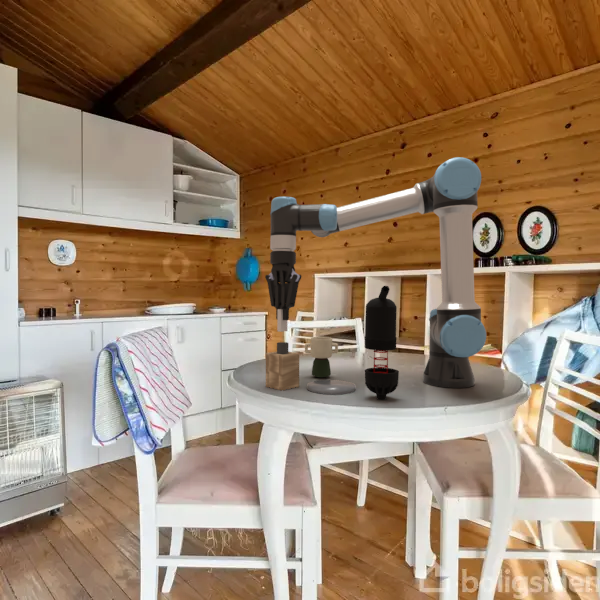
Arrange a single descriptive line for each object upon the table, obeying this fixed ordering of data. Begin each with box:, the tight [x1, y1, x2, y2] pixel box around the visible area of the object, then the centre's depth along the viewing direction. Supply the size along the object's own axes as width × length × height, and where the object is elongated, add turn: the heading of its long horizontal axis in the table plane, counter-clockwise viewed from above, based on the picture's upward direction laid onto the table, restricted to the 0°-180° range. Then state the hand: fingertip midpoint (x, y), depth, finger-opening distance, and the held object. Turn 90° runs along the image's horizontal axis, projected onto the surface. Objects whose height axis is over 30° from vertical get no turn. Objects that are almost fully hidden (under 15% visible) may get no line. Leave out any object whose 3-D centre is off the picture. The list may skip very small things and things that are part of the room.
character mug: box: [304, 336, 339, 378], centre depth 146 cm, size 11×7×13 cm, turn 89°
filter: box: [364, 285, 400, 401], centre depth 118 cm, size 14×9×30 cm
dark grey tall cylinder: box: [276, 341, 289, 354], centre depth 131 cm, size 3×3×10 cm
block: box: [265, 351, 300, 391], centre depth 131 cm, size 7×7×10 cm
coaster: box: [306, 379, 356, 396], centre depth 129 cm, size 14×14×1 cm
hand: (282, 331), depth 131 cm, fingers closed
